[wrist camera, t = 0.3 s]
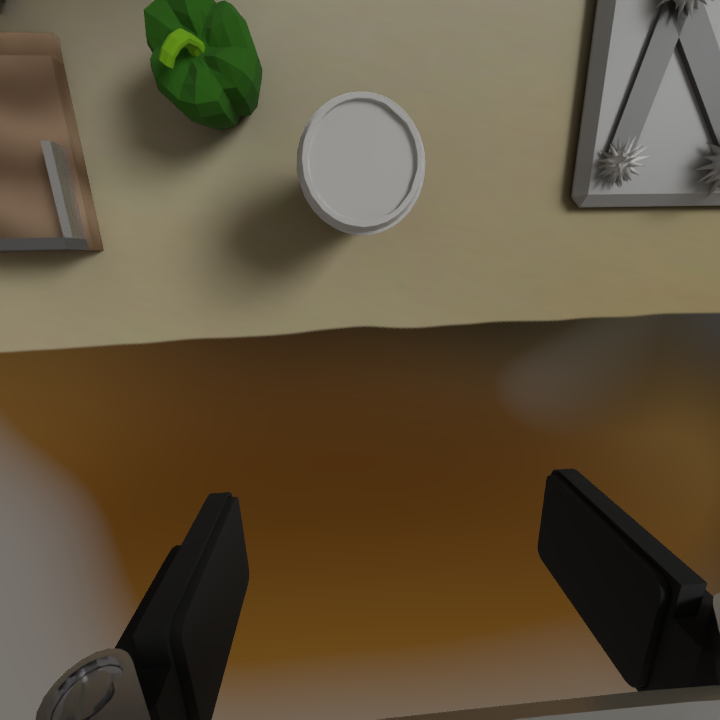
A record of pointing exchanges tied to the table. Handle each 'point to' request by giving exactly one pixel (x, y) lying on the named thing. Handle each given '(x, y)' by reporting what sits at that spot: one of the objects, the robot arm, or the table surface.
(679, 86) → the decorative plate
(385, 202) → the disposable coffee cup
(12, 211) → the loading dock
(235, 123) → the bell pepper
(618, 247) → the table surface
